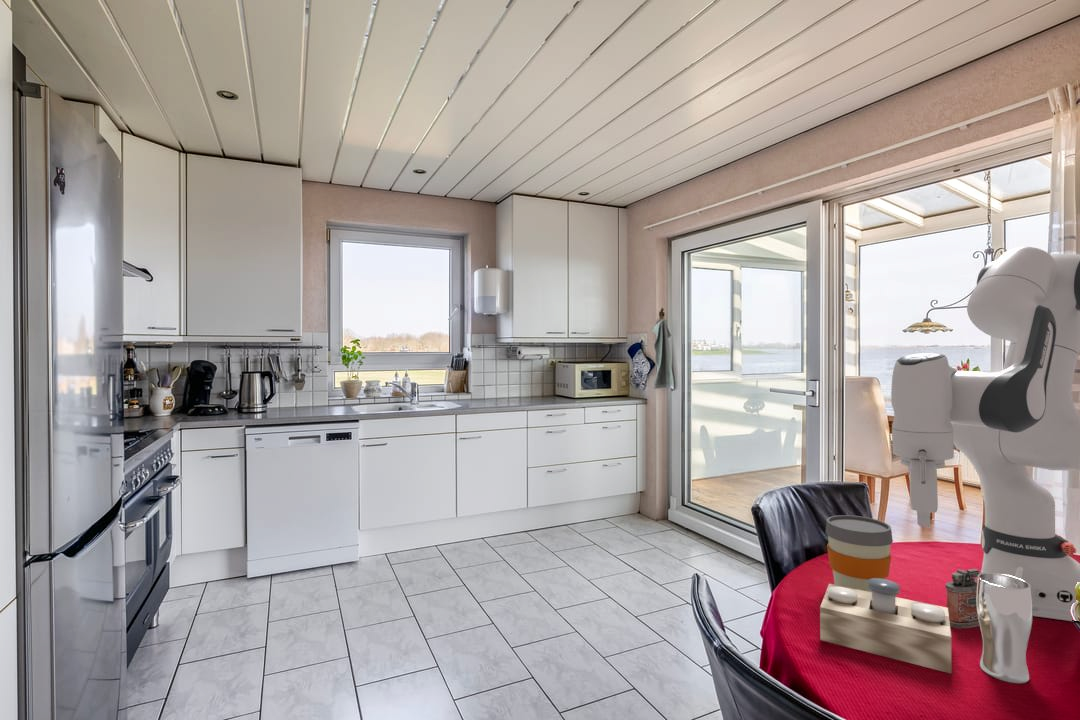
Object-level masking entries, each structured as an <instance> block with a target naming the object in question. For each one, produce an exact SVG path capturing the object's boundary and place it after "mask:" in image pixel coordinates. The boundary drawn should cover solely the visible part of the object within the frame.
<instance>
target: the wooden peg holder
mask: <svg viewBox="0 0 1080 720" xmlns="http://www.w3.org/2000/svg"><path fill="white" fill-rule="evenodd" d="M830 587H843V586H838V585H835V584H833V583H828V586H827V588H826V590H825V592H824V593H825V594H824V596H823V599H822V602H821V604H820V606H819V621H820V622H819V627H820V628H819V631H820V633H819V634H820V635H819V636H820V637H819V638H820V639H819V640H820V641H822V642H827V643H830V644H834V645H838V646H843V647H846V648H850V649H853V650H859V651H862V652H866V653H870V654H873V655H876V656H881V657H885V658H890V659H893V660H896V661H901V662H905V663H909V664H913V665H917V666H921V667H923V668H929V669H932V670H935V671H940V672H944V673H947V674H952V631H951V626H950V622H949V613H948V608H947V606H946V607H945V606H941V605H936V604H932V603H927V602H923V601H918V600H917V601H916V600H911V599H907V598H902V597H897V596H895V600H896V615H894V614H889V613H885V612H880V611H876V610H872V592H868V591H863V590H858V589H853V588H848V587H845V588H848V589H851V590H853V591H855V592H856V593H857V602H855V603H854V606H853V605H848V604H843V603H839V602H834V601H832V599H831V598H830V597H829V596H828V589H829V588H830ZM917 603H921V604H928V605H932V606H935V607H938V608H940V609H942V610H943V611H944V612H945V621H943V622H941V625H940V624H935V623H931V622H926V621H921V620H917V619H915V616H914V615H913V614H912V613H911V605H912V604H917Z"/></svg>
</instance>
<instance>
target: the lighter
mask: <svg viewBox="0 0 1080 720" xmlns="http://www.w3.org/2000/svg"><path fill="white" fill-rule="evenodd" d="M980 573H981V570H980V571H979V569H978V568H972V569H971V568H970V569H966V570H964V569H961V568H959V569H957V570H956V571H955V572H952V573H951V579H952V581H949V582H946V583H945V585H944V586H945V590H946V607H947V608H948V613H949V622H950V628H955V629H969V628H974V627H980V625H979V620H978V615H977V608H976V591H977V581H978V579H977V578H978V574H980ZM975 578H976V579H975Z"/></svg>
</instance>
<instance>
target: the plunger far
mask: <svg viewBox="0 0 1080 720" xmlns="http://www.w3.org/2000/svg"><path fill="white" fill-rule="evenodd" d="M828 596H829V597H830V598H831V599H832V601H834V602H839V603H843V604H848V605H853V606H854V603H855V602H857V593H856V592H855V591H853V590H851V589H848V588H845V587H830V588H829V589H828Z"/></svg>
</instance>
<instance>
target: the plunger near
mask: <svg viewBox="0 0 1080 720" xmlns="http://www.w3.org/2000/svg"><path fill="white" fill-rule="evenodd" d="M928 604H929V603H927V604H921V603H917V604H912V605H911V613H912V614H913V615H914V616H915V619H917V620H921V621H926V622H931V623H935V624H940V625H941V622H943V621H945V612H944V611H943V610H942V609H940V608H938V607H935V606H932V605H933V604H932V605H928Z"/></svg>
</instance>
